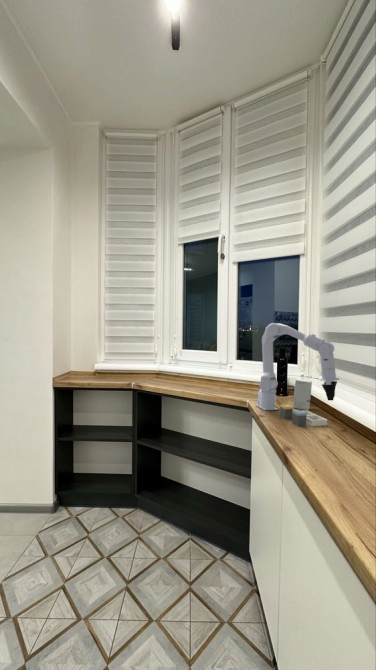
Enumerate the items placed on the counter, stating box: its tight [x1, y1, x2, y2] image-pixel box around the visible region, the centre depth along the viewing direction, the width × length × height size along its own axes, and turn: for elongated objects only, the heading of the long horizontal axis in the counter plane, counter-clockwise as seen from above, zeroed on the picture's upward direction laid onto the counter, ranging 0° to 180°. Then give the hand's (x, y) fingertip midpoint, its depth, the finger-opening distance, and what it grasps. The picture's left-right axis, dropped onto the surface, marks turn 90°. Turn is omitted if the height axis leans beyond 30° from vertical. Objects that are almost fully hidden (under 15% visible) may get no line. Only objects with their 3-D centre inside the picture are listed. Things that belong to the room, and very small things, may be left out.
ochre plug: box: [279, 404, 294, 420], centre depth 140 cm, size 4×4×6 cm
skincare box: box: [292, 378, 313, 411], centre depth 157 cm, size 8×6×15 cm
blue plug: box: [292, 410, 307, 427], centre depth 131 cm, size 4×4×6 cm
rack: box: [292, 409, 328, 427], centre depth 137 cm, size 14×8×2 cm, turn 15°
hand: (331, 398), depth 136 cm, fingers open, 7 cm apart
